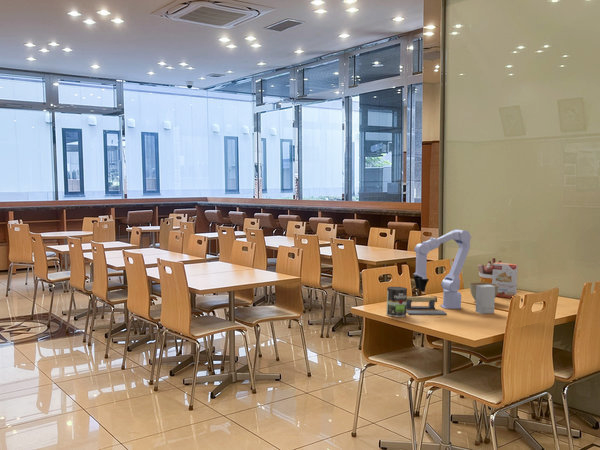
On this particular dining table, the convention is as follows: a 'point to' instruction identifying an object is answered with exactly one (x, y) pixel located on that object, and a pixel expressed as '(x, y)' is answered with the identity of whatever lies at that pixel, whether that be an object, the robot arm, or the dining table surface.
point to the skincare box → (485, 299)
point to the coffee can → (396, 301)
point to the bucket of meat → (486, 272)
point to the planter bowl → (473, 285)
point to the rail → (422, 299)
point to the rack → (431, 306)
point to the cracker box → (505, 279)
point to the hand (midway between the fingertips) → (420, 290)
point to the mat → (425, 312)
